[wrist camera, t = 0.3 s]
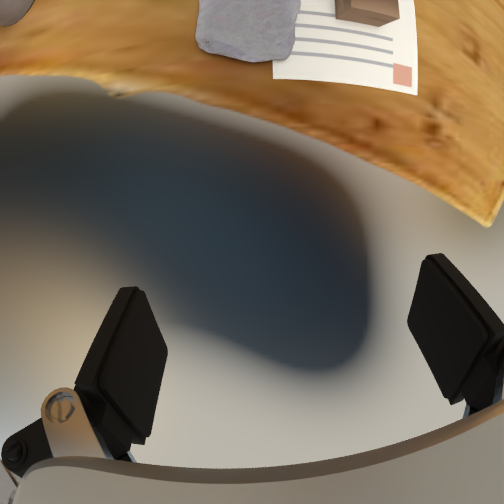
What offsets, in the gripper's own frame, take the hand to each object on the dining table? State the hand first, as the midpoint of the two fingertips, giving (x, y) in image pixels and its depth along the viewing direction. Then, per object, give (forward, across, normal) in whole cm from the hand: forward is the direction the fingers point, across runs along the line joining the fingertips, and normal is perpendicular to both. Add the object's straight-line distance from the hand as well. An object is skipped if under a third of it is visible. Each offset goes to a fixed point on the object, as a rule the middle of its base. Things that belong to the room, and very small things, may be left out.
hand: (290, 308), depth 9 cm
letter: (+30, -14, -16) cm, 36 cm away
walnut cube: (+30, -15, -20) cm, 39 cm away
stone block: (+30, 0, -16) cm, 34 cm away
